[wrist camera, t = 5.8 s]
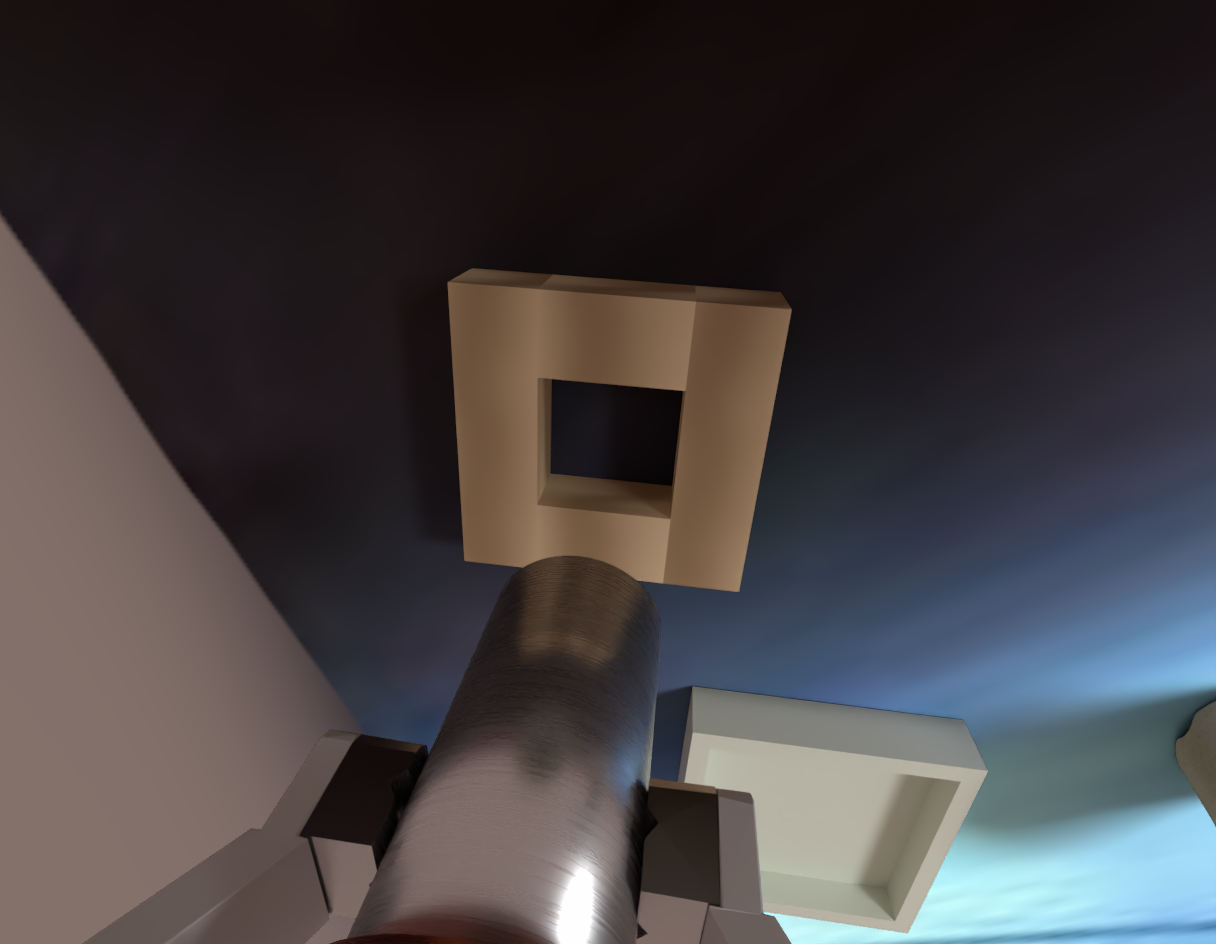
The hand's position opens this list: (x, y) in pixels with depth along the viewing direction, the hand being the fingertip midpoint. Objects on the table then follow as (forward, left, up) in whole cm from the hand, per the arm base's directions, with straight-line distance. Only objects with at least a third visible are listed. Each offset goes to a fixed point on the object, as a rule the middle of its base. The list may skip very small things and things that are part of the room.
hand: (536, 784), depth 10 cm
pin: (0, 0, -4) cm, 4 cm away
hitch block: (0, 0, -15) cm, 15 cm away
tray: (-10, +18, -15) cm, 25 cm away
